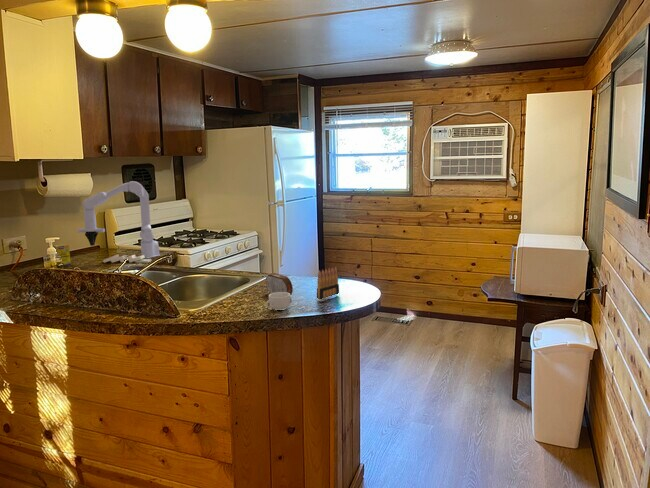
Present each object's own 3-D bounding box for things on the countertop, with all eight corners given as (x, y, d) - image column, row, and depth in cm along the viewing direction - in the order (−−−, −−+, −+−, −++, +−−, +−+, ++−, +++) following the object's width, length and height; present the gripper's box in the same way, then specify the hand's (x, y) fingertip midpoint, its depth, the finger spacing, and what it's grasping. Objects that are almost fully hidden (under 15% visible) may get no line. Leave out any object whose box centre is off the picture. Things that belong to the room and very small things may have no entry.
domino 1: (102, 260, 268) (114, 255, 267) (107, 258, 273) (118, 254, 272) (104, 262, 268) (115, 258, 268) (108, 261, 273) (119, 256, 272)
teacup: (281, 305, 181) (280, 290, 180) (295, 308, 175) (294, 294, 174) (259, 311, 173) (259, 296, 173) (274, 315, 168) (273, 300, 167)
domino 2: (110, 260, 268) (122, 255, 267) (114, 258, 273) (126, 254, 272) (111, 262, 268) (123, 258, 267) (115, 261, 273) (127, 257, 272)
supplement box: (59, 266, 260) (57, 246, 259) (54, 265, 264) (52, 245, 262) (71, 264, 265) (69, 244, 263) (65, 263, 269) (63, 244, 267)
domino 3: (119, 259, 268) (131, 255, 267) (123, 258, 272) (134, 254, 272) (120, 262, 268) (132, 258, 267) (124, 261, 273) (136, 256, 272)
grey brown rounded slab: (293, 298, 190) (292, 277, 188) (287, 299, 187) (286, 278, 186) (271, 291, 201) (270, 271, 199) (264, 292, 199) (263, 272, 197)
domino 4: (128, 259, 267) (140, 256, 266) (132, 258, 272) (144, 254, 271) (129, 262, 268) (141, 259, 266) (133, 260, 272) (145, 257, 271)
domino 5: (135, 260, 267) (147, 260, 267) (138, 259, 272) (151, 259, 272) (135, 263, 268) (148, 263, 267) (139, 262, 272) (151, 262, 272)
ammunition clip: (320, 302, 183) (319, 270, 181) (316, 301, 184) (315, 270, 182) (339, 296, 191) (339, 266, 189) (335, 295, 192) (335, 265, 190)
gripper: (73, 221, 264) (75, 246, 266) (99, 221, 263) (101, 246, 265) (80, 220, 271) (82, 244, 273) (105, 220, 270) (108, 244, 272)
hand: (92, 245), depth 270 cm, fingers closed
